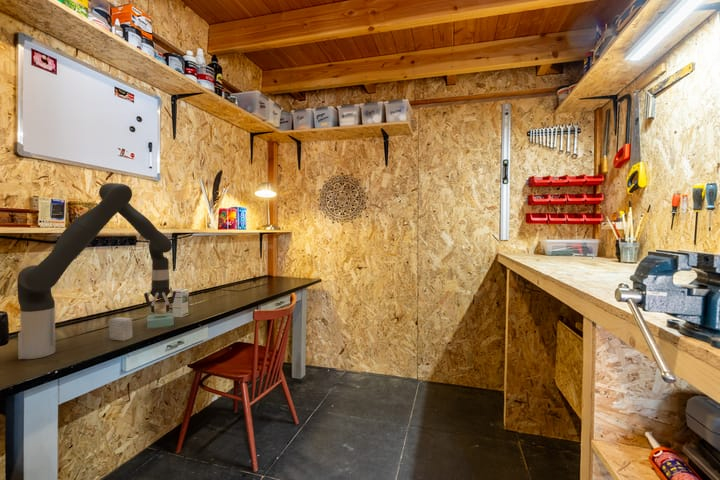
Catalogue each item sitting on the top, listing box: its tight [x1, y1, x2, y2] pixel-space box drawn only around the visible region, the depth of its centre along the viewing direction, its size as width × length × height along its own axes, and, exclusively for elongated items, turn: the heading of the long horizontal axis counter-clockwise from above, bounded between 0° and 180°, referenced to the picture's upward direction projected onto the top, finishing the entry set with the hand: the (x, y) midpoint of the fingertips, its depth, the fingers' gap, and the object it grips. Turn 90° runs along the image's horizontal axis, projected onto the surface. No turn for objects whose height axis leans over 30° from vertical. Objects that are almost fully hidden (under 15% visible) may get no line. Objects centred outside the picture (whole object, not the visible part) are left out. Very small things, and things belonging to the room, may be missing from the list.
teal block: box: [146, 312, 175, 329], centre depth 166 cm, size 11×11×4 cm
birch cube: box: [153, 301, 167, 315], centre depth 166 cm, size 5×5×5 cm
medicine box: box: [108, 316, 133, 342], centre depth 144 cm, size 8×4×9 cm, turn 74°
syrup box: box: [172, 288, 190, 318], centre depth 182 cm, size 6×6×14 cm
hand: (160, 312), depth 166 cm, fingers closed on birch cube, 5 cm apart
